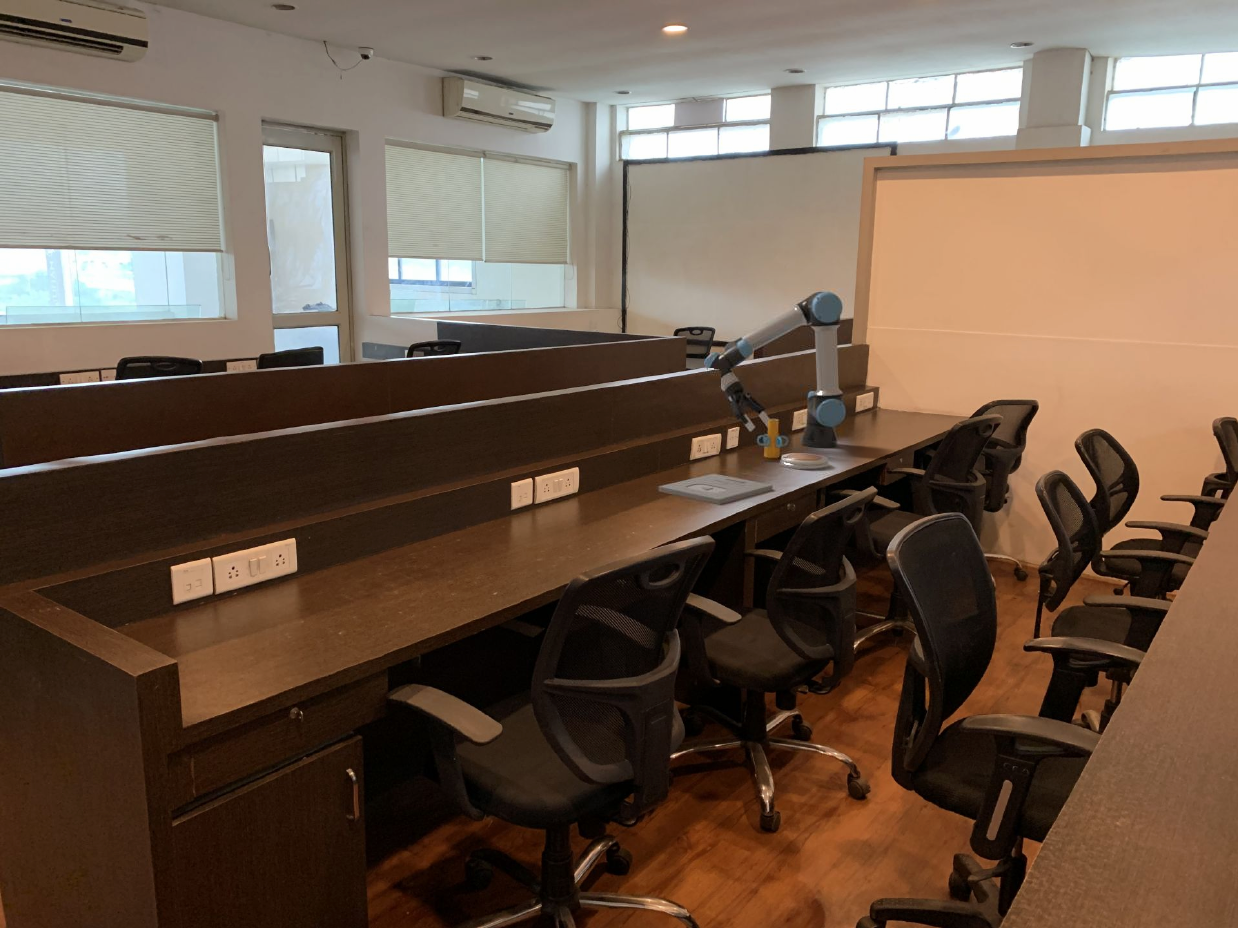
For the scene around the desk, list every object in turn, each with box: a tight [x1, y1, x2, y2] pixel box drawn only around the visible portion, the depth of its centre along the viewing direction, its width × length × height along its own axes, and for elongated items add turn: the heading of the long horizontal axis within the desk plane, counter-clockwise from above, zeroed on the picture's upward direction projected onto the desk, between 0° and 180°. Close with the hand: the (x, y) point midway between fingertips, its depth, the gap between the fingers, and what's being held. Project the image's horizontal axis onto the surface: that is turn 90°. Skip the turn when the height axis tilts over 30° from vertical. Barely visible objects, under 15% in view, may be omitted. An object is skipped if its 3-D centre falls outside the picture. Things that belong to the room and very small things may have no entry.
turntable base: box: [779, 458, 829, 471], centre depth 352 cm, size 18×18×2 cm
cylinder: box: [756, 418, 789, 459], centre depth 366 cm, size 12×10×15 cm
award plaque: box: [658, 473, 774, 505], centre depth 307 cm, size 25×30×2 cm
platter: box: [781, 452, 828, 466], centre depth 351 cm, size 17×17×2 cm
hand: (761, 427), depth 368 cm, fingers open, 13 cm apart
